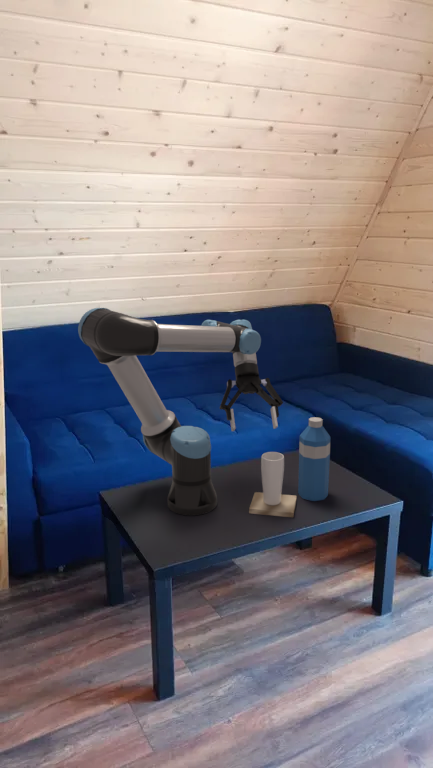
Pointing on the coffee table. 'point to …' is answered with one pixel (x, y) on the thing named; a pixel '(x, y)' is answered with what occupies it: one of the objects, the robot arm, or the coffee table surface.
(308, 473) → the water bottle
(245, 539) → the coffee table surface
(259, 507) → the birch board
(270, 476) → the drinking glass
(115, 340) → the robot arm
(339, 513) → the coffee table surface
